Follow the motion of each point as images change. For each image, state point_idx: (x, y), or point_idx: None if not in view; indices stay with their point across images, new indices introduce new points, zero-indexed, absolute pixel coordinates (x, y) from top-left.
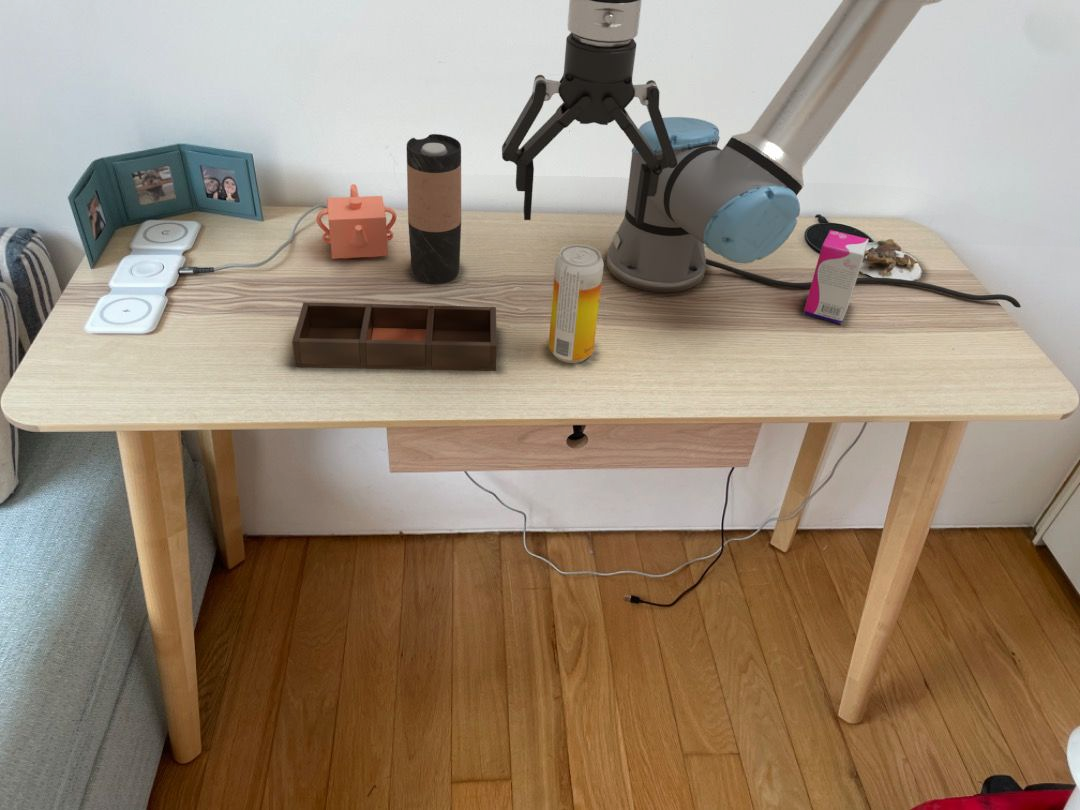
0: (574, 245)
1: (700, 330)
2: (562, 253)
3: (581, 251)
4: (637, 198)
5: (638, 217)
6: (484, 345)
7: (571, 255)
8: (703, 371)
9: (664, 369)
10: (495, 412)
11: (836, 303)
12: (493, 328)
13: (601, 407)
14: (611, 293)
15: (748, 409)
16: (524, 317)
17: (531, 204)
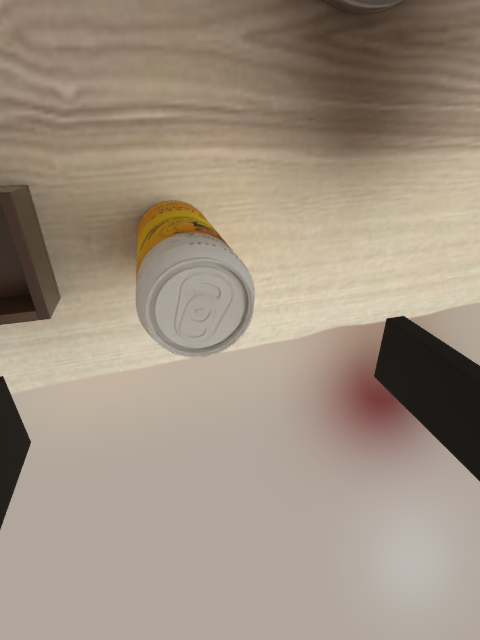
0: (185, 263)
1: (379, 154)
2: (153, 298)
3: (204, 283)
4: (428, 370)
5: (389, 389)
6: (27, 321)
7: (178, 312)
8: (350, 259)
9: (303, 261)
10: (82, 376)
11: None
12: (28, 270)
13: None
14: (256, 10)
15: (373, 320)
16: (77, 127)
17: (10, 497)
